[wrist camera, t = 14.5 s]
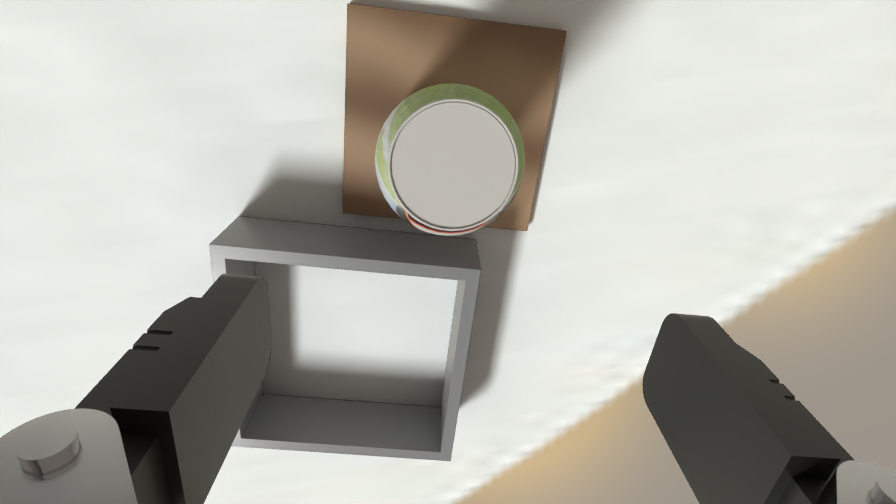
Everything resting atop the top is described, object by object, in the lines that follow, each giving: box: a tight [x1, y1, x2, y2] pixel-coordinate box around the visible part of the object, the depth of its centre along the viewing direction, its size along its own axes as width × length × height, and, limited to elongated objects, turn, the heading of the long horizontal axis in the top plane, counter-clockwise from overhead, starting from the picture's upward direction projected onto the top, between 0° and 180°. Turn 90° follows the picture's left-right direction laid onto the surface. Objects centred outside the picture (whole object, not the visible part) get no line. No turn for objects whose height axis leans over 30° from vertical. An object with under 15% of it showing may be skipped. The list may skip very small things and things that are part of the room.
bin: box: [209, 216, 481, 461], centre depth 33 cm, size 16×16×4 cm
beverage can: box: [375, 83, 525, 236], centre depth 24 cm, size 6×7×12 cm
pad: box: [343, 3, 566, 231], centre depth 29 cm, size 12×12×1 cm
